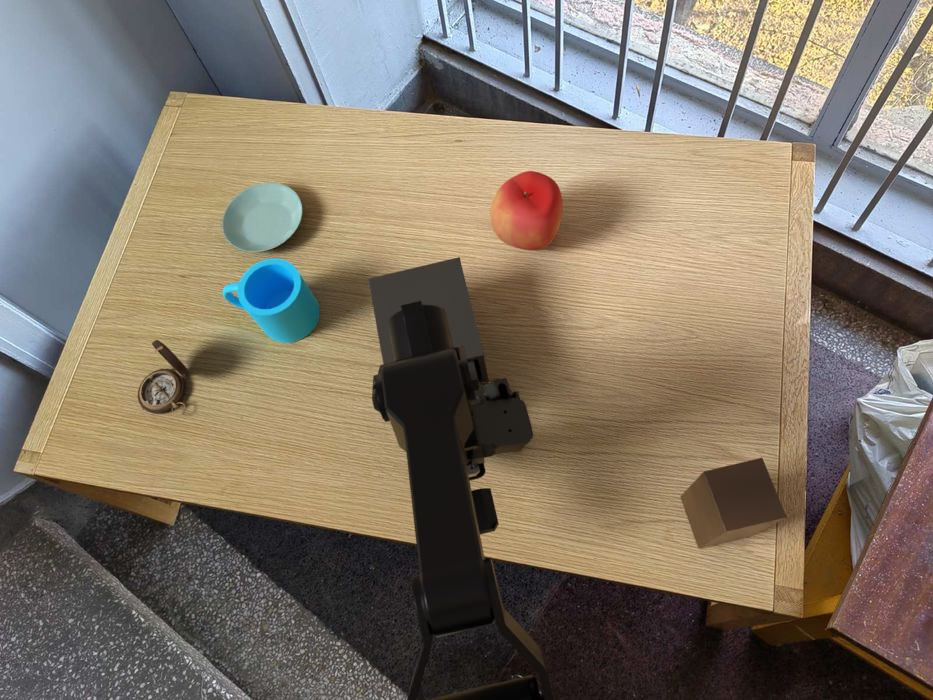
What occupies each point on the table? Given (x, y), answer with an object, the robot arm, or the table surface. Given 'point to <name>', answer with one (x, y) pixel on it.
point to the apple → (527, 211)
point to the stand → (732, 503)
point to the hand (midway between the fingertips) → (458, 465)
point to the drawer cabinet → (432, 288)
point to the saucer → (262, 217)
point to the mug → (276, 300)
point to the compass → (164, 384)
